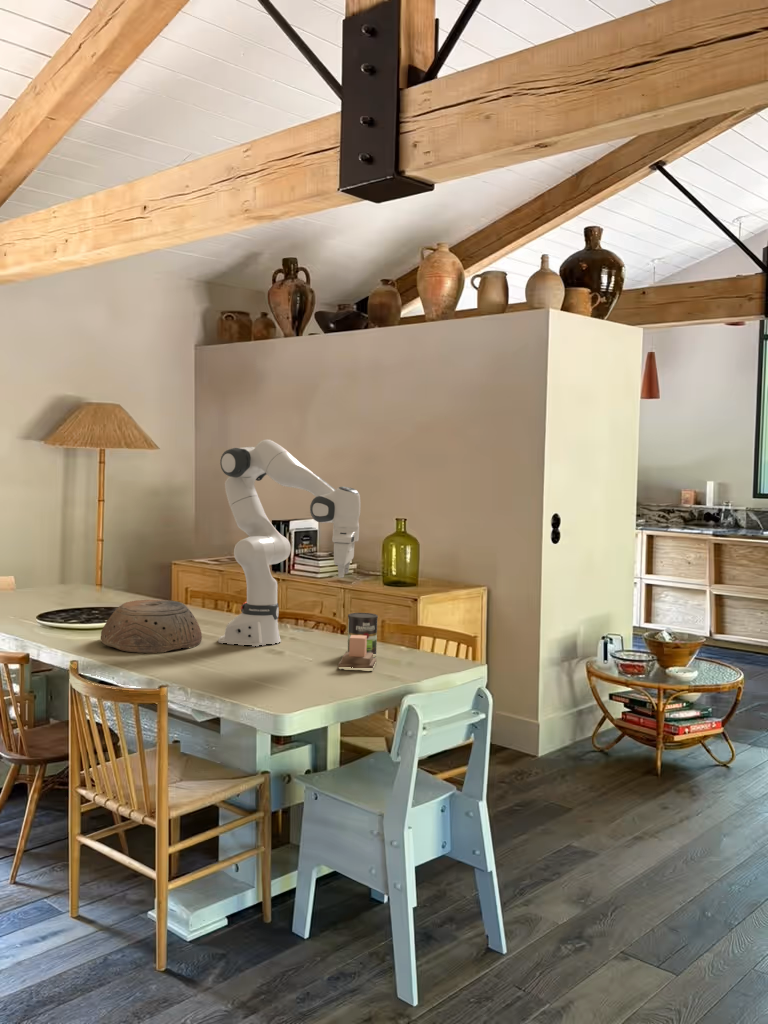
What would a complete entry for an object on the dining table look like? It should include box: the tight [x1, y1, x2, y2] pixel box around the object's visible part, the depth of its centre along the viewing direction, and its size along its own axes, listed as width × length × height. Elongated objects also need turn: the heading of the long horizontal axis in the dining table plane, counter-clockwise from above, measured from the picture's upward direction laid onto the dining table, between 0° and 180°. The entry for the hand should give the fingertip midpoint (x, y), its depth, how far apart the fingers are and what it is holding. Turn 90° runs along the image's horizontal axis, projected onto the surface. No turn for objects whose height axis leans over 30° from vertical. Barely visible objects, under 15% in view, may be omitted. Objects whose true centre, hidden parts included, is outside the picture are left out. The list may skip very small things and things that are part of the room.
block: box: [349, 635, 367, 657], centre depth 301 cm, size 5×5×6 cm
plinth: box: [337, 651, 377, 668], centre depth 301 cm, size 11×11×4 cm
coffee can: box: [346, 612, 379, 655], centre depth 319 cm, size 10×10×14 cm
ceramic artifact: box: [100, 599, 203, 654], centre depth 330 cm, size 35×36×15 cm
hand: (343, 575), depth 315 cm, fingers open, 8 cm apart
